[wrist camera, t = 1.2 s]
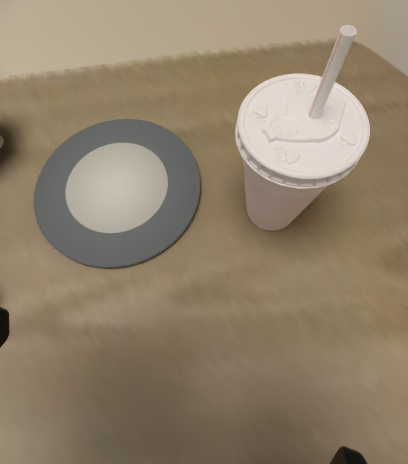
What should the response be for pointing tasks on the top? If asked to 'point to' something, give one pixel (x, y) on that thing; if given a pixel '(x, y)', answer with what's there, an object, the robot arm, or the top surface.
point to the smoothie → (299, 139)
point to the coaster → (117, 193)
